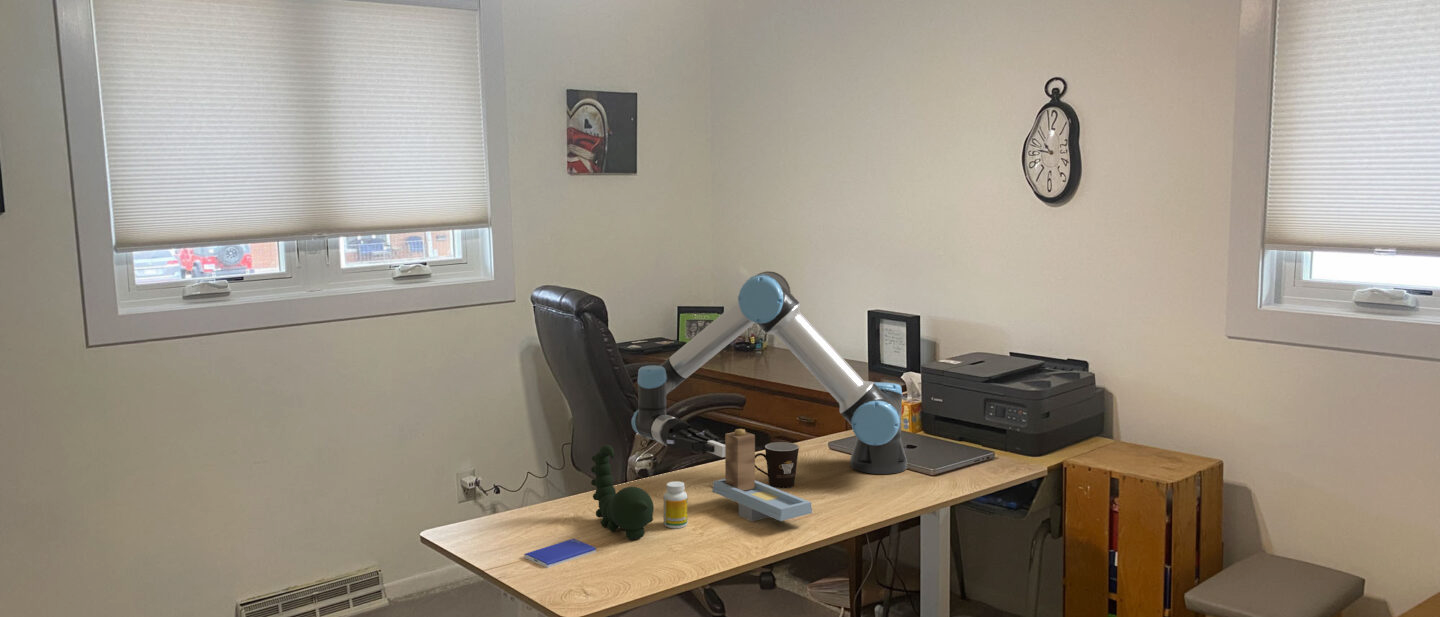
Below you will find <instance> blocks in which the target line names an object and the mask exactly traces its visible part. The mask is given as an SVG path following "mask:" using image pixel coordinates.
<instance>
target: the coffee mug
mask: <svg viewBox="0 0 1440 617" xmlns="http://www.w3.org/2000/svg"><path fill="white" fill-rule="evenodd" d="M799 448H800V446H799V445H798V444H796V443H794V442H793V443H792V442H786V441H785V442H784V441H775V442H770V443H767V444H765V445H764V451H765V453H762V452H760V453H757V454H756V453H755V459H757V458H758V457H759V456H762V457H763V458H764V459H765V461H766V468H767V469H766V470H767V472H766V471H764V470H763V469H761V468H759V467H758V466H757V465H756V464H755V470H757V471H759V472H760V473H762V474H763V475H766V477H768V485H769V486H771V487H774V488H776V489H789V488H793V487H794V486H795V482H796V480H795V479H796V475H797V474H796V473H797V465H798V457H799Z"/></svg>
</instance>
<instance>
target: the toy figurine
mask: <svg viewBox="0 0 1440 617" xmlns="http://www.w3.org/2000/svg"><path fill="white" fill-rule="evenodd" d="M614 458H615V449H614V448H613V447H612V446H611V445H609V444H604V445H602V446H601V447H600V449H599V451H598V452H597V453H595V454H594V455H592V457H591V461H592V462H594V465H593V466H591V468H590V472H592V473H593V474H594V475H595V478H594V479H591V481H590V483H591V486H595V488H596V489H595V492H594V493H593V495H592V498H593V500H595V501H598V508H597V510H595V516H596V517H597V518H598V519H599V518H601V521H600V524H601V527H603V528H608V531H610V532H616V531H617V530H618V529H619V528H620V529H622V530H625V537H626V538H627V539H628V540H631V541H635V540H639V539H641V538H643V537H644V535H645V532H646V530H645V527H646V526H647V525H648V524H650V523H652V522H653V520H654V516H653V515H654V512H655V510H654V509H655V508H654V502H653V499H652V498H651V496H650V494H649V493H648V492H647V491H646V490H644V489H643V488H640V487H638V486H627V487H623V488H622V489H620V490H618V491H616V488H615V487H614V478H613V476H612V474H611V473H612V466H611V464H610V459H614Z"/></svg>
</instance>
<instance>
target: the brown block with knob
mask: <svg viewBox="0 0 1440 617" xmlns="http://www.w3.org/2000/svg"><path fill="white" fill-rule="evenodd" d="M724 438H725V439H724V440H725V442H724V445H725V457H724V458H725V467H724V468H725V469H724V470H725V474H724V475H725V477H724V479H725V484H727V485H730V486H732V487H735V488H737V489H740V490H742V491H745V490H749V489H754V488H755V480H756V468H755V465H756V458H755V455H756V435H755V434H754V433H750V432H747V431H746V429H745V428H744V429H743V428H737V429H735V430H734V431H732V432H729V433H728V432H727V433H725V435H724Z"/></svg>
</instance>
